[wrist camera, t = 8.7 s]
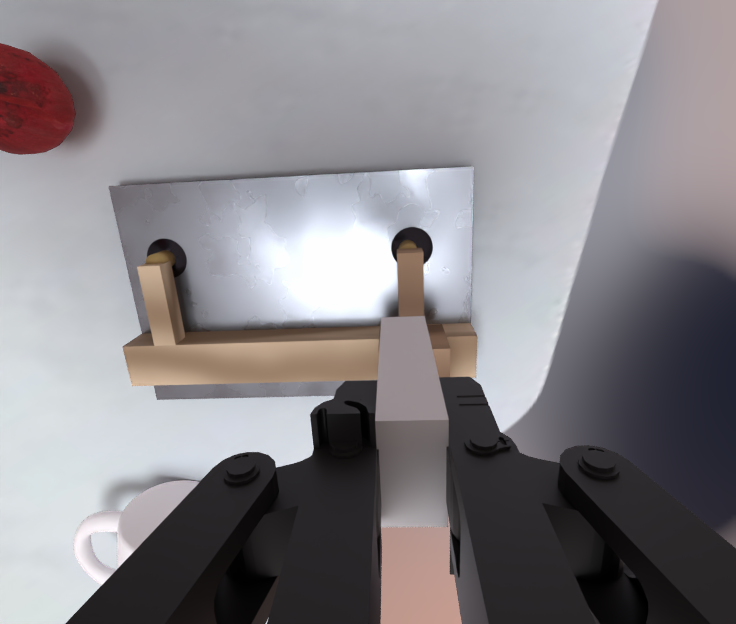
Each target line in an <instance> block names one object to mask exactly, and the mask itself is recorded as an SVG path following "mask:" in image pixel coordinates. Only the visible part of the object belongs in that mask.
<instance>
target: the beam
mask: <svg viewBox="0 0 736 624" xmlns="http://www.w3.org/2000/svg"><path fill="white" fill-rule="evenodd" d="M174 263H175V256H174V254H173V253H172V252H170V251H168V250H163V251H160V252H157V253H155V254H152V255H149V256H148V257H147V258H146V263H145V264H143V265H140V266H137V269H138V274H139V278H140V283H141V288H142V292H143V297H144V301H145V306H146V310H147V315H148V319H149V324H150V328H151V333H148V334H141V335H139V336H138V337H136V338H135V339H133V340H132V341H130V342H129V343H127V344H126V345H124V346H123V351H124V355H125V359H126V363H127V367H128V371H129V375H130V379H131V383H132V386H153V385H193V384H233V383H273V382H313V381H353V380H378V364H379V356H378V346H379V331H380V326H362V327H332V328H301V329H270V330H240V331H209V332H184V327H183V322H182V317H181V312H180V307H179V302H178V296H177V291H176V286H175V281H174V276H173V271H172V266H173V265H174ZM427 325H432V324H427ZM442 325H443V328H444V331H445V334H446V337H447V340H448V343H449V346H450V377H471V378H474V377H476V358H477V335H476V333H475V331H474V329H473V327H472V325H471V323H455V324H442Z"/></svg>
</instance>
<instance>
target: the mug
mask: <svg viewBox="0 0 736 624" xmlns="http://www.w3.org/2000/svg"><path fill="white" fill-rule="evenodd" d="M198 483H199V482H198V481H191V480H178V481H171V482H166V483H162V484H159V485H156V486H154V487H151V488H149V489H147V490H146V491H144V492H142V493H141V494H139V495H138V496H136V497H135V498H134V499H133V500H132V501H131V502H130V503H129V504H128V505H127V506H126V507H125V509H124V510H123V511H102V512H97V513H94V514H92V515H90V516H88V517H87V518H85V519H84V520H83V521H82V522H81V524H80V525H79V527H78V528H77V531H76V533H75V536H74V543H73V546H74V553H75V556H76V559H77V561H78V562H79V564H80V565H81V567H82V568H83V569H84V571H85V572H86V573H87V574H88V575H89V576H90V577H91V578H92V579H93V580H95V581H96V582H97V583H99V584H100V585H103V584H104V583H105V581H106V580H107V579H108V578H109V577H110V576H111V575H112V574H113V573H114V572H115V571H116V570H117V569H118V568H119V567H120V566H121V565H122V564H123V563H124V561H125V560H126V559H127V558H128V557H129V556H130V555H131V554H132V553H133V552H134V551H135V550H136V549H137V548H138V547H139V546H140V545H141V544H142V542H143V541H144V540H145V539H146V538H147V537H148V536H149V535H150V534H151V533H152V532H153V531H154V530H155V529H156V528H157V527H158V526H159V525H160V523H161V522H162V521H163V520H164V519H165V518H166V517H167V516H168V515H169V514H170V513H171V512H172V511H173V510H174V509H175V508H176V507H177V506H178V505H179V503H180V502H181V501H182V500H183V499H184V498H185V497H186V496H187V495H188V494H189V493H190V492H191V491H192V490H193V489H194V488H195V487H196V486H197V484H198ZM97 532H117V569H114V568H111V567H108V566H106V565H105V564H103V563H102V562H101V561H100V560H99V559H98V558H97V557H96V555H95V553H94V551H93V547H92V543H91V534H93V533H97Z"/></svg>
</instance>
